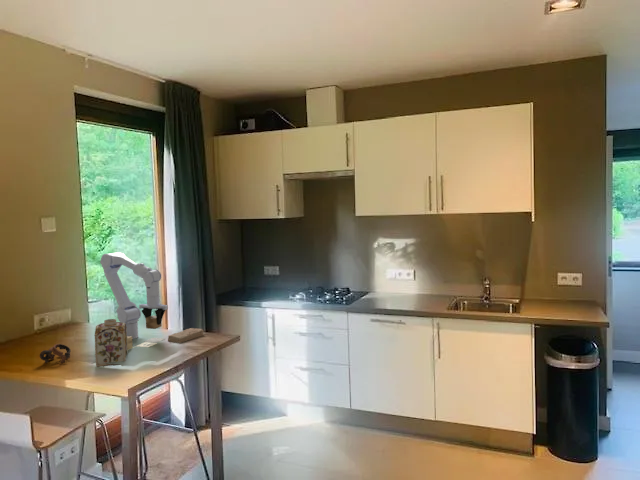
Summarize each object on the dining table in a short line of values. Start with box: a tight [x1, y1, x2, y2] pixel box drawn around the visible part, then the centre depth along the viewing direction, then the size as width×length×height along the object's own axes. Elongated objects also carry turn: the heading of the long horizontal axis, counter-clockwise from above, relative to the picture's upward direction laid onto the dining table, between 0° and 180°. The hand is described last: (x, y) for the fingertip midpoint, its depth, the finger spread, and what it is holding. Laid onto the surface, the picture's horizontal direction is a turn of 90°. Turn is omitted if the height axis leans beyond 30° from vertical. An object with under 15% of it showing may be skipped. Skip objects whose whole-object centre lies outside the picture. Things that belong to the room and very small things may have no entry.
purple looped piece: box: [39, 343, 72, 364], centre depth 218 cm, size 12×10×8 cm
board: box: [127, 341, 158, 352], centre depth 238 cm, size 14×24×1 cm, turn 162°
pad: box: [143, 337, 165, 344], centre depth 245 cm, size 7×7×1 cm
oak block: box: [127, 336, 134, 351], centre depth 232 cm, size 5×5×5 cm
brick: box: [167, 327, 204, 344], centre depth 249 cm, size 17×8×5 cm, turn 151°
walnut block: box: [145, 315, 163, 330], centre depth 244 cm, size 5×5×5 cm
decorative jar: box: [94, 318, 128, 368], centre depth 217 cm, size 12×12×18 cm
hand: (154, 324), depth 245 cm, fingers closed on walnut block, 5 cm apart
